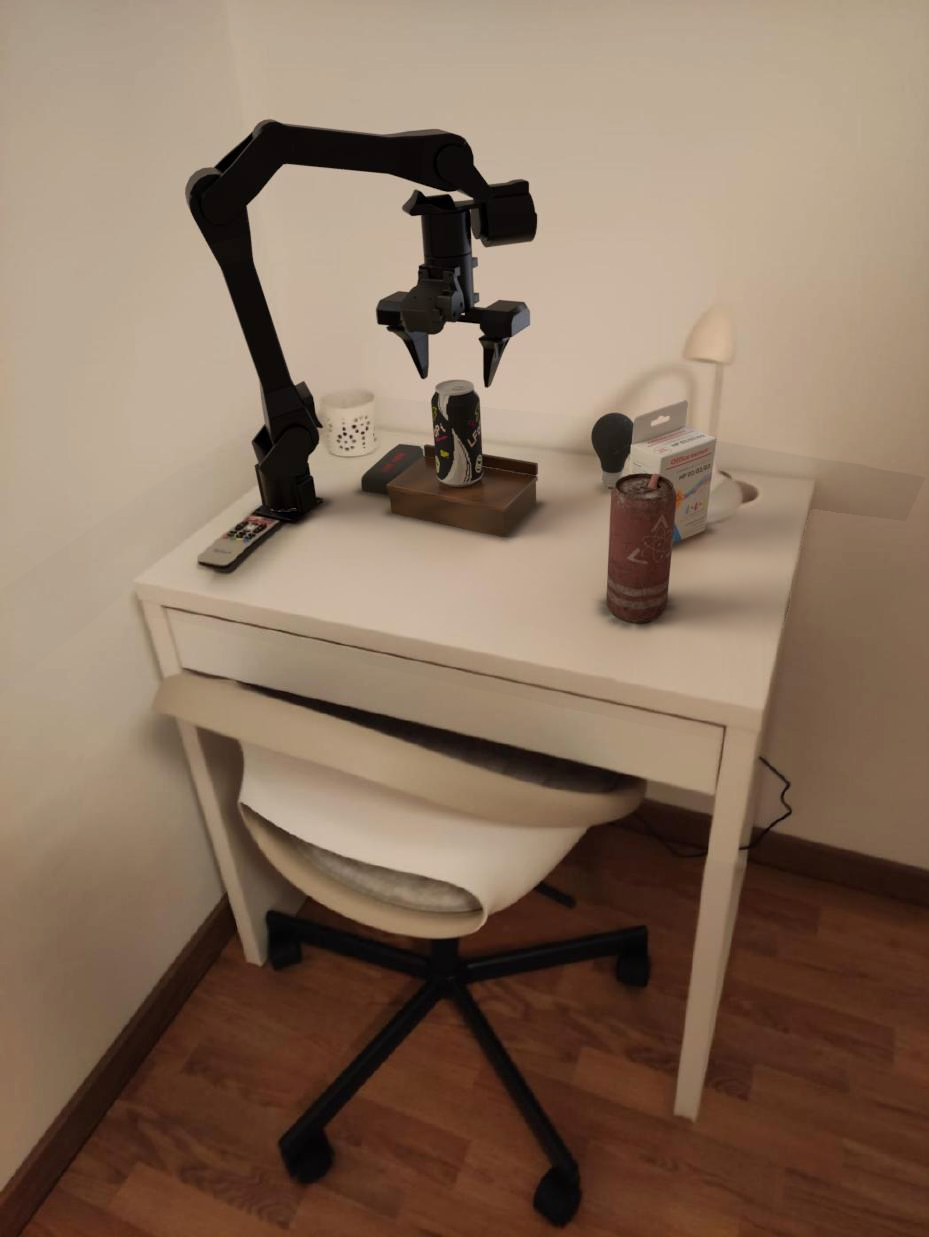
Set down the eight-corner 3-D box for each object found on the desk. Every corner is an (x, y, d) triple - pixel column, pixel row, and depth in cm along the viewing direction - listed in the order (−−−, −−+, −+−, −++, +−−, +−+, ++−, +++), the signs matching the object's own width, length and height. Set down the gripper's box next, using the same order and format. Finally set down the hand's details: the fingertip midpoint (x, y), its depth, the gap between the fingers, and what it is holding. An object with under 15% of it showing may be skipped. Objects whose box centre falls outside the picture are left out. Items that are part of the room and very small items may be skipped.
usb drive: (361, 491, 117) (359, 472, 115) (400, 455, 126) (398, 437, 124) (397, 496, 115) (395, 477, 113) (434, 459, 124) (432, 441, 122)
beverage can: (471, 493, 106) (466, 396, 99) (429, 486, 108) (421, 391, 101) (490, 473, 110) (487, 379, 103) (449, 467, 112) (443, 375, 105)
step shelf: (389, 513, 111) (384, 473, 108) (427, 482, 118) (424, 443, 115) (506, 538, 104) (504, 496, 101) (539, 503, 111) (539, 463, 108)
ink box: (653, 553, 99) (663, 430, 91) (623, 537, 103) (630, 416, 95) (707, 530, 103) (721, 410, 95) (676, 515, 107) (687, 397, 98)
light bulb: (640, 483, 114) (645, 409, 109) (622, 501, 110) (626, 425, 105) (601, 475, 117) (603, 403, 111) (582, 492, 113) (584, 418, 107)
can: (673, 596, 92) (684, 474, 84) (657, 629, 87) (668, 503, 79) (616, 586, 94) (623, 466, 86) (598, 617, 90) (603, 493, 82)
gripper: (342, 263, 101) (359, 394, 110) (487, 274, 93) (492, 414, 102) (394, 243, 109) (405, 366, 118) (531, 251, 101) (532, 383, 110)
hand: (455, 382), depth 112 cm, fingers open, 9 cm apart
